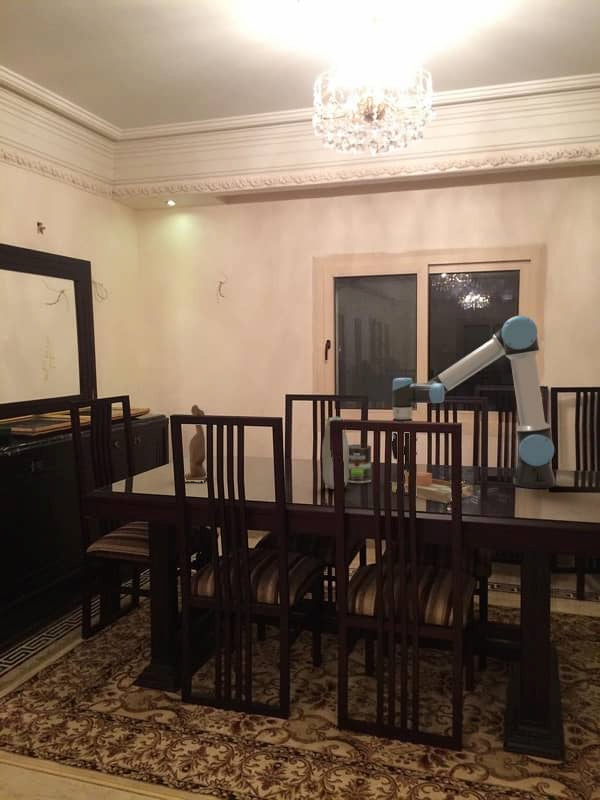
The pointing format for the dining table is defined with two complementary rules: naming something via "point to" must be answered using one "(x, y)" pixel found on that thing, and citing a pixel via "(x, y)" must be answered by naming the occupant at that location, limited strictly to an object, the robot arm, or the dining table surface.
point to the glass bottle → (328, 459)
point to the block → (421, 478)
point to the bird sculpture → (197, 451)
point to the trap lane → (437, 491)
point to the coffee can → (359, 464)
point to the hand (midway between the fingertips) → (403, 477)
